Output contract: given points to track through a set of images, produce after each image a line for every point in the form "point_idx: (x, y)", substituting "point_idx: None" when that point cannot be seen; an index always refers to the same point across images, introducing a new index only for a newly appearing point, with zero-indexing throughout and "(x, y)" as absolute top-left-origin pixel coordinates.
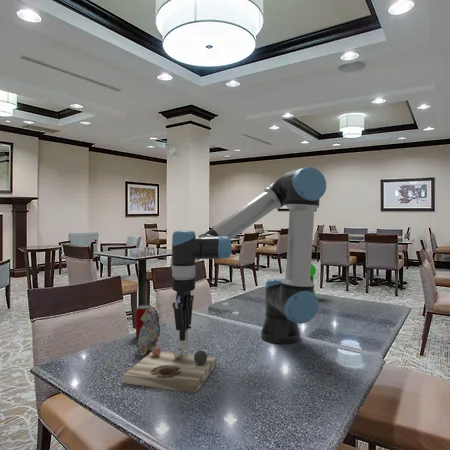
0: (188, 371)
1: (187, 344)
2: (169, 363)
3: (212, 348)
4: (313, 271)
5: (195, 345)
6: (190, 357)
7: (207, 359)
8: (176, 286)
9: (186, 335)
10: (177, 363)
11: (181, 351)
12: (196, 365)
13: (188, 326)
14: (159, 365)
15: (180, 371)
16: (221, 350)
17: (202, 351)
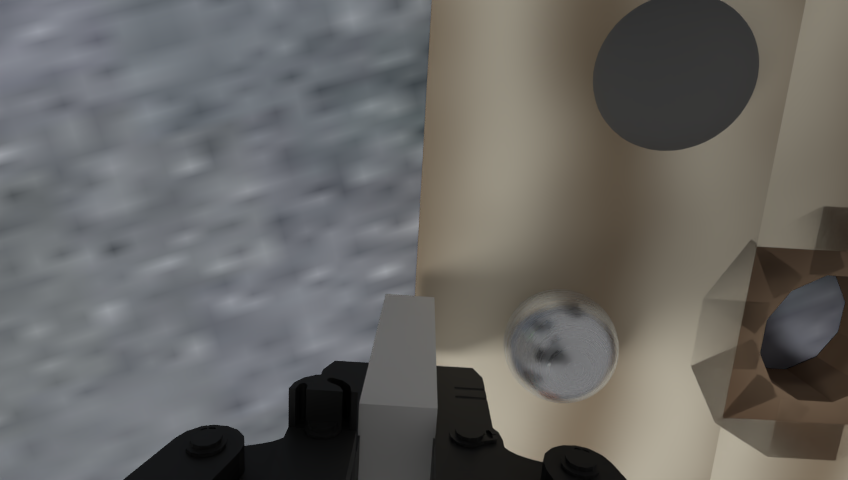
0: (824, 147)
1: (414, 316)
2: (663, 368)
3: (49, 120)
4: None
5: (33, 303)
6: (495, 227)
7: (515, 39)
8: None
9: (436, 374)
10: (654, 301)
11: (595, 322)
12: None
13: (339, 431)
14: (711, 433)
15: (824, 220)
16: (68, 12)
17: (707, 42)
